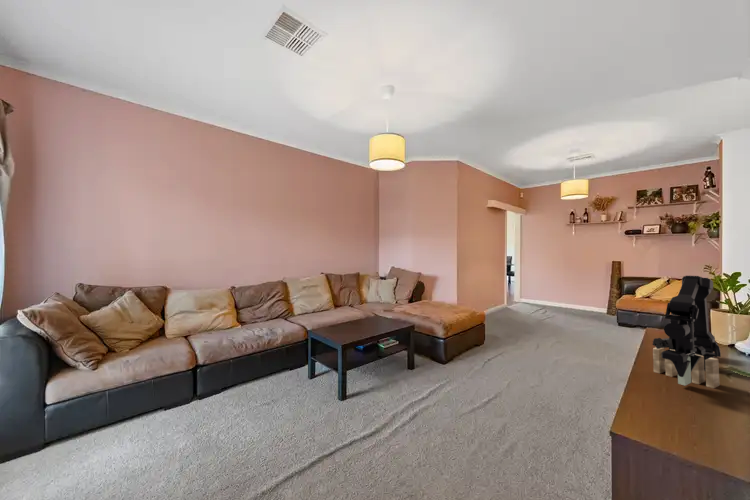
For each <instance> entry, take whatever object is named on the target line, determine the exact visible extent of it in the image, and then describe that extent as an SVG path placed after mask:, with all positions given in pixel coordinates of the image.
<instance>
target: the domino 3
mask: <svg viewBox="0 0 750 500" xmlns="http://www.w3.org/2000/svg"><path fill="white" fill-rule="evenodd" d="M687 360H689V361H690V363H689V365H688V368H687V370H686V372H685V374H684V376H683V377H680V376H679V375H677V384H678V385H682V386H688V385H690V384H692V371H691V358H690V356H688V359H687Z"/></svg>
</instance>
